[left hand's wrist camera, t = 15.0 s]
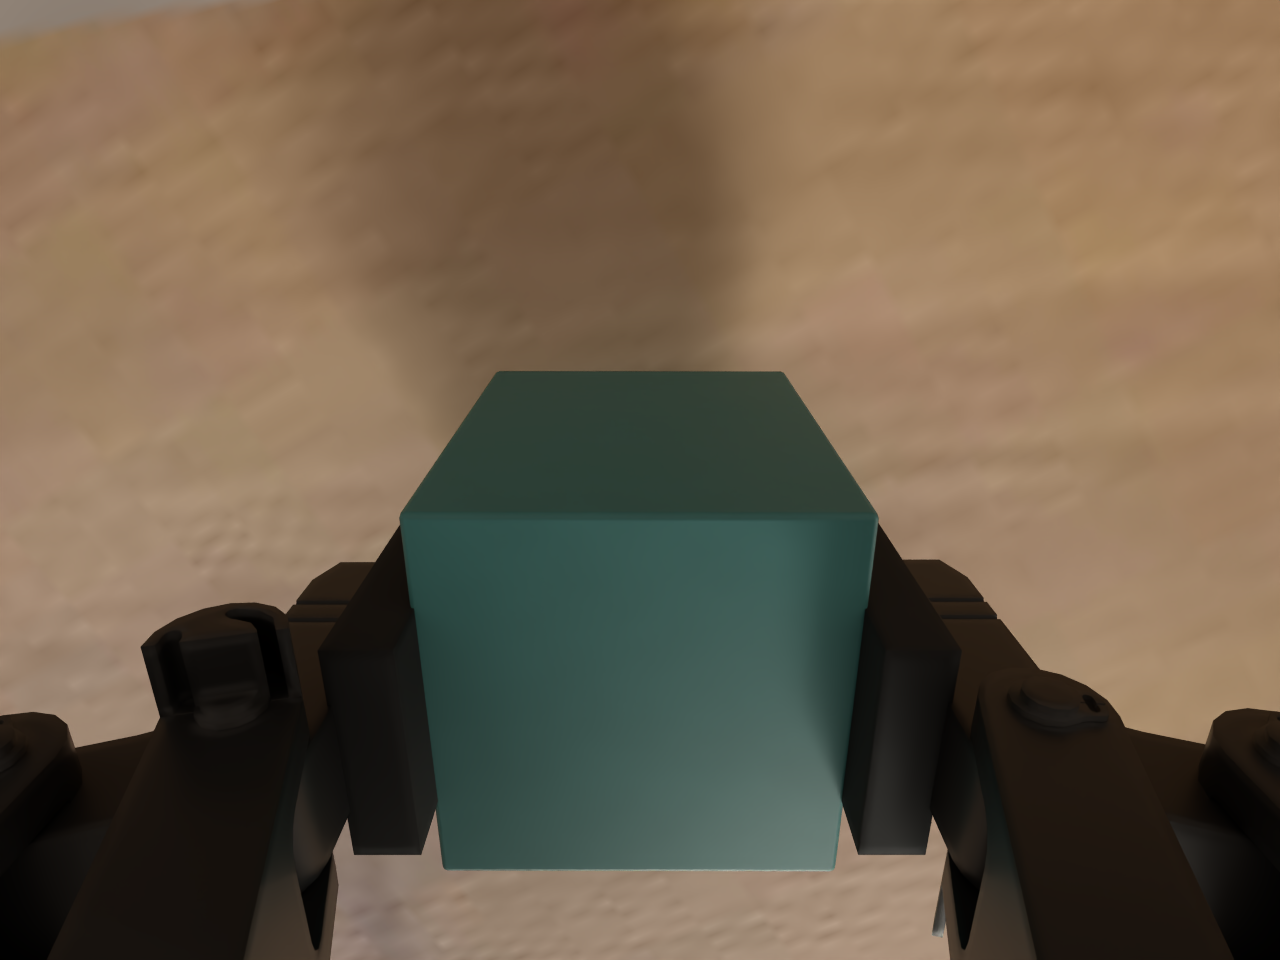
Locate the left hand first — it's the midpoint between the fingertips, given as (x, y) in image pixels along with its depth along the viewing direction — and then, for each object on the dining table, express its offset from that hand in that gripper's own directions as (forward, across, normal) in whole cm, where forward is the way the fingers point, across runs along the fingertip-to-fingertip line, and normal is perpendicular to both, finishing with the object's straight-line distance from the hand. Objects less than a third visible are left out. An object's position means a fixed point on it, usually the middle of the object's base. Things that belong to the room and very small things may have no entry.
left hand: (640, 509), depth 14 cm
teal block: (0, 0, 0) cm, 0 cm away
